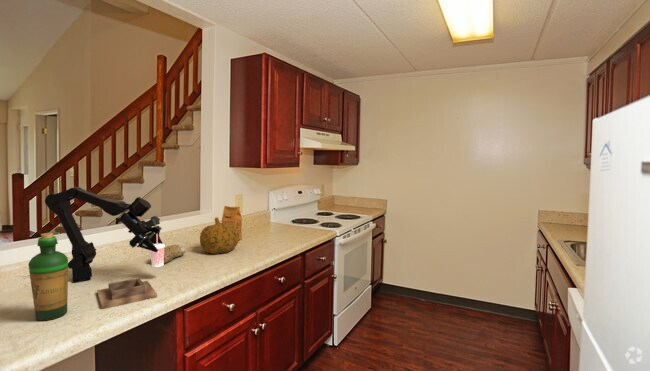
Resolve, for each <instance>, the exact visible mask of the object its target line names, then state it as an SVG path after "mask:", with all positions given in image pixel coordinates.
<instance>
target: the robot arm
mask: <svg viewBox="0 0 650 371" xmlns="http://www.w3.org/2000/svg"><path fill="white" fill-rule="evenodd" d="M75 199H77V200H80V201H82V202H86V203H87V204H90V205H92V206H95V207H98V208H100V209H101V210H102V211H103V212H104V213H106V214H108V215H109V216H112V217H115V216H118V217H115V225H119V224H122V225H124V227H126V228H127V229H128V233H129V234H133V235H134V236H133V238H131V240H129V243H128V245H129V246H130V247H131V248H135V247H136V248H141V249H144V250H148V251H149V252H150V251H153V252H157V251H158V249H157V248H156V247H155V246H154V244H157V239H156V234H158V244H164V243H163V241H162V239H161V237H160V233H161V230H162V229H163V228H162V227H161V226H160V224H161V221H160V220H161V218H159V217H158V216H156V215H154V216H151V217H150V219H149V220H147V221H145V220H140V218H141V217H143V216H144V215H145V214H146V213H147V212H148V211H149V210H150V209H151V208H152V204H151V203H150V202H149V201H148V200H146V199H144V198H141V197H140V196H139V197H138V196H137V197H136V198H135V199H134V200H133V202H132V203H126V201H123V200H119V199H112V198H107V197H104V196H102V195H98V194H96V193H94V192H91V191H89V190H86V189H83V188H82V187H80V186H76V187H70V188H68V189H66V190H64V191H61V192H57V193H50V194H47V195H46V197H45V198H44V203H45V205H46V207H48V209H49V210H50V211H51V213H53V214H55V215H56V216H57V218H58V220H59V222H60V225H61V226H62V228H63V230H64V232H65V234H66V236H67V238H68V241H69V242H70V244H71V256H72V259H70V261H68V270H69V269H71V273H72V274H71V276H72V278H71V282H72V283H80V282H86V281H90V280H92V277H93V273H92V271H93V270H92V266H91V265H90V264H92V263H93V261H94V259H95V258H96V255H97V249H96V247H95V245H94V243H93V242H92V241H91V242H88V241H86V240H85V237H84V236H83V233H82V232H81V230H80V227H79V225H78V223H77V222H76V219H75V217H74V215H73V212H72V211H71V209H72V208H71V206H72V202H71V201H72V200H75ZM119 215H120V216H119ZM139 217H140V218H139ZM137 244H138V245H137Z"/></svg>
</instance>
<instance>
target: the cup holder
mask: <svg viewBox="0 0 650 371" xmlns="http://www.w3.org/2000/svg"><path fill="white" fill-rule="evenodd" d="M141 279H142V278H140V277H136V278H131V279H127V280H126V279H125V280H120V281H115V282H109V283H108V284H107V286H108V287H107V288H102V289H97V290H96V295H97V298H98V300H99V303H100V307H101V310H104V309H109V308H113V307H119V306H124V305H127V304H131V303H135V302H141V301H142V302H143V301H146V299H147V300H150V298H151V299H156V298H158V293H157V292H156V290H155V289H154V287H152V285H151V283H150V282H149V281H148V280H145V281H143V280H141ZM155 297H156V298H155Z"/></svg>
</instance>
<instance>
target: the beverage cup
mask: <svg viewBox="0 0 650 371" xmlns="http://www.w3.org/2000/svg"><path fill="white" fill-rule="evenodd" d="M156 239H157V244H154V246H155V247H156V248H157V249H158V251H157V252H153V251H150V250H149V252H150V259H151V267H153V268H159V267H163V266H164V264H165V263H164V248H165V247H166V245H165V243H163V244H158V234H156Z"/></svg>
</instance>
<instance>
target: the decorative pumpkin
mask: <svg viewBox="0 0 650 371" xmlns="http://www.w3.org/2000/svg"><path fill="white" fill-rule="evenodd" d="M214 223H215V224H211V225H210V224H209V225H207V226H204V228H203V229H202V230H201V231H200V236H199V243H200V246H201V249H202V250H203V251H204V252H205V253H208V254H213V255H218V254H222V253H223V254H224V253H229V252H231V251H233V250H234V249H235V248H236V246H237V245H238V243H239V241H240V240H239V233H238V231H237V229H236V228H235V227H234V226H233V225H231V224H228V223H222V222H220V219H219V217H218V216H217V217H214Z"/></svg>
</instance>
